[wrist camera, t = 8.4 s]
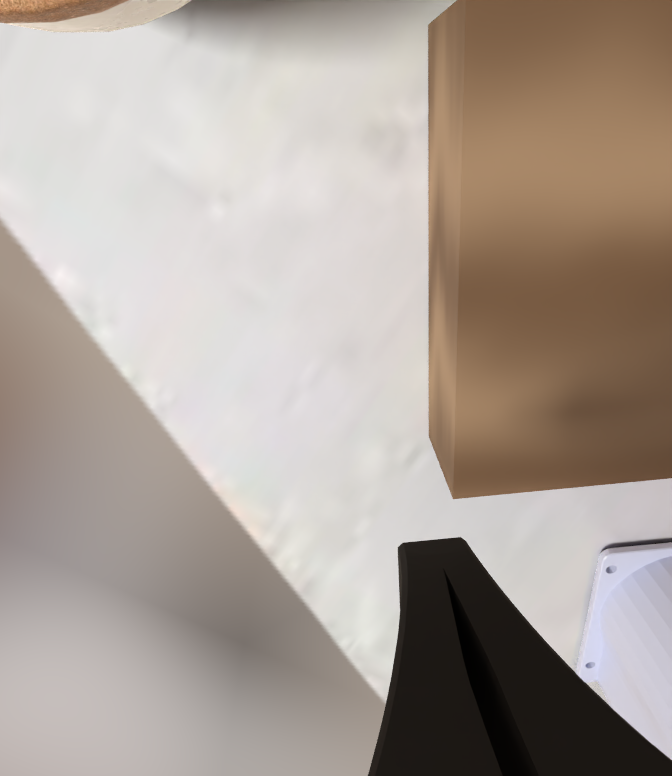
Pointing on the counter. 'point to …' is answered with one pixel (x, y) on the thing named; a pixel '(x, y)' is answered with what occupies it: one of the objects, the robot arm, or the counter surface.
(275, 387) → the counter surface
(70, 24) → the lidded jar
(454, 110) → the dark wood platform
